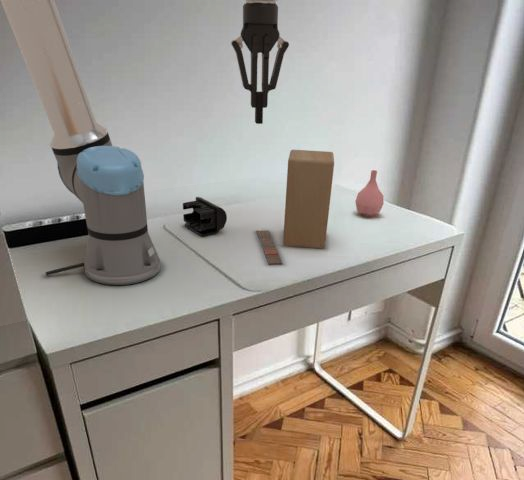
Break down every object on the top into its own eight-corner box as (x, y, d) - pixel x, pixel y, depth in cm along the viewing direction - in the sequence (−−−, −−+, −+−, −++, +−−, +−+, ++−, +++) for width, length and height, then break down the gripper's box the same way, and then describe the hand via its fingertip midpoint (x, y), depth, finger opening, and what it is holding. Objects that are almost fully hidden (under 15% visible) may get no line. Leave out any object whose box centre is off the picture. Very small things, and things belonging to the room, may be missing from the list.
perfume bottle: (364, 220, 136) (371, 175, 130) (348, 212, 142) (354, 168, 135) (387, 217, 139) (394, 173, 133) (370, 209, 145) (376, 166, 138)
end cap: (227, 232, 125) (227, 205, 121) (202, 237, 122) (202, 210, 118) (206, 220, 132) (206, 195, 128) (182, 225, 128) (181, 199, 124)
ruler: (256, 232, 126) (256, 230, 126) (268, 232, 126) (268, 230, 126) (268, 264, 110) (268, 262, 109) (282, 264, 110) (282, 262, 110)
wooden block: (324, 234, 126) (333, 151, 115) (324, 249, 118) (334, 161, 107) (285, 231, 127) (290, 148, 116) (282, 246, 119) (288, 158, 108)
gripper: (287, 3, 110) (282, 119, 123) (228, 1, 108) (230, 119, 121) (294, 3, 104) (288, 125, 117) (231, 1, 102) (233, 125, 115)
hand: (258, 122), depth 119 cm, fingers closed
